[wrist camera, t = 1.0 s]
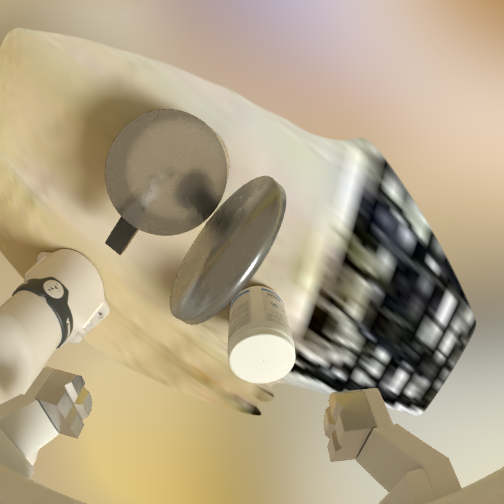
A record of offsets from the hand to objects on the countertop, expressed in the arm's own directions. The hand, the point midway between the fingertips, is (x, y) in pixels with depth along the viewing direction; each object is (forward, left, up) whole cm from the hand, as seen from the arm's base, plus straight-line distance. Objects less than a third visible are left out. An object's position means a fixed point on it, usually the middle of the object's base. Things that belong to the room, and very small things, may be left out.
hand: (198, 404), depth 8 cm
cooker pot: (-5, +9, -40) cm, 41 cm away
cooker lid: (-2, 0, -21) cm, 21 cm away
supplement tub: (-13, -16, -40) cm, 45 cm away
